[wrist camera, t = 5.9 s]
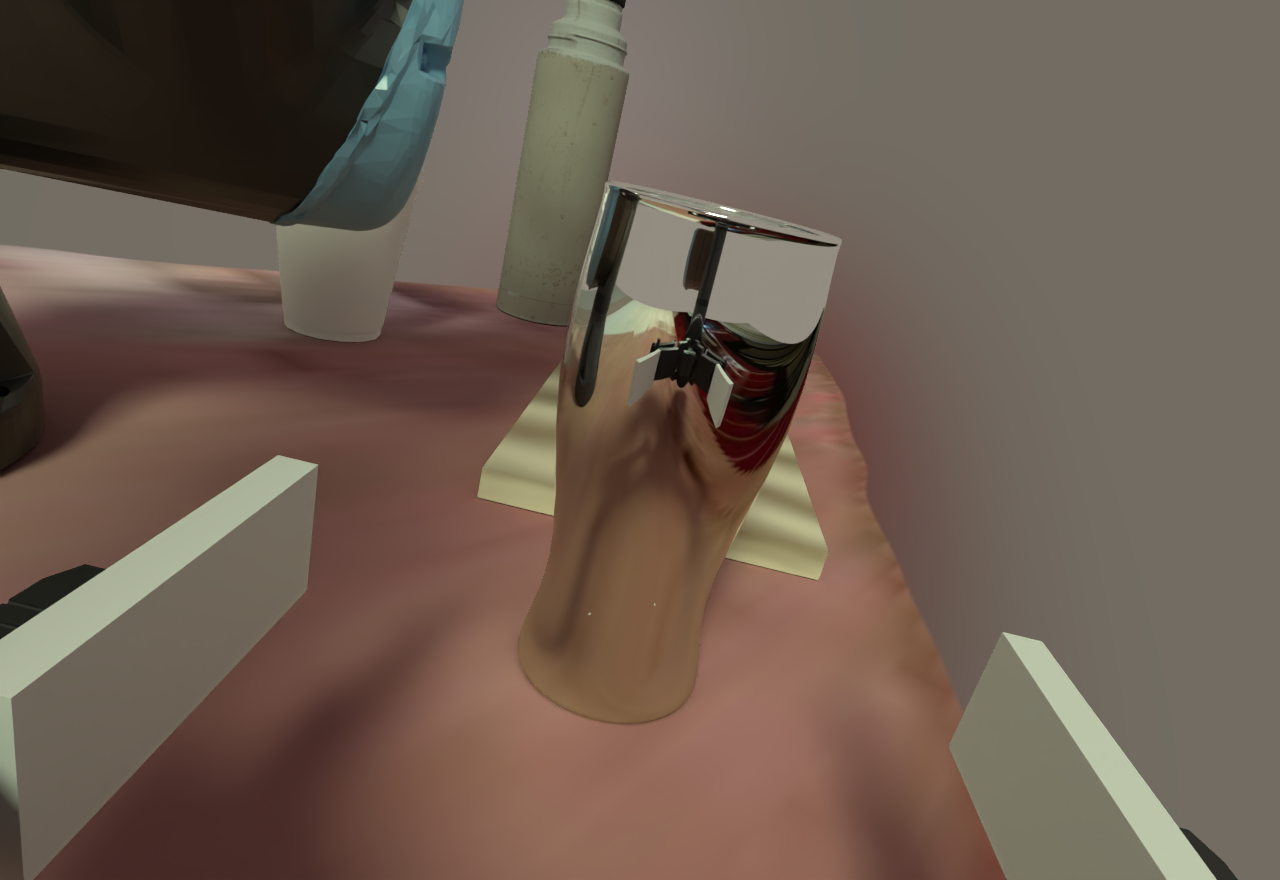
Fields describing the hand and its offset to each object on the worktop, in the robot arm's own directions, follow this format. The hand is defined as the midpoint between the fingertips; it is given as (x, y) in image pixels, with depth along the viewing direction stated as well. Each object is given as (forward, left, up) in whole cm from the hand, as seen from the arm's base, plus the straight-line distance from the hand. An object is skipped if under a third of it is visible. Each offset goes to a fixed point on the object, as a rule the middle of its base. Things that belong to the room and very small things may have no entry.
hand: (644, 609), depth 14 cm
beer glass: (-5, +8, -8) cm, 12 cm away
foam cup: (-40, +22, -8) cm, 46 cm away
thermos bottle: (-41, +45, -8) cm, 61 cm away
